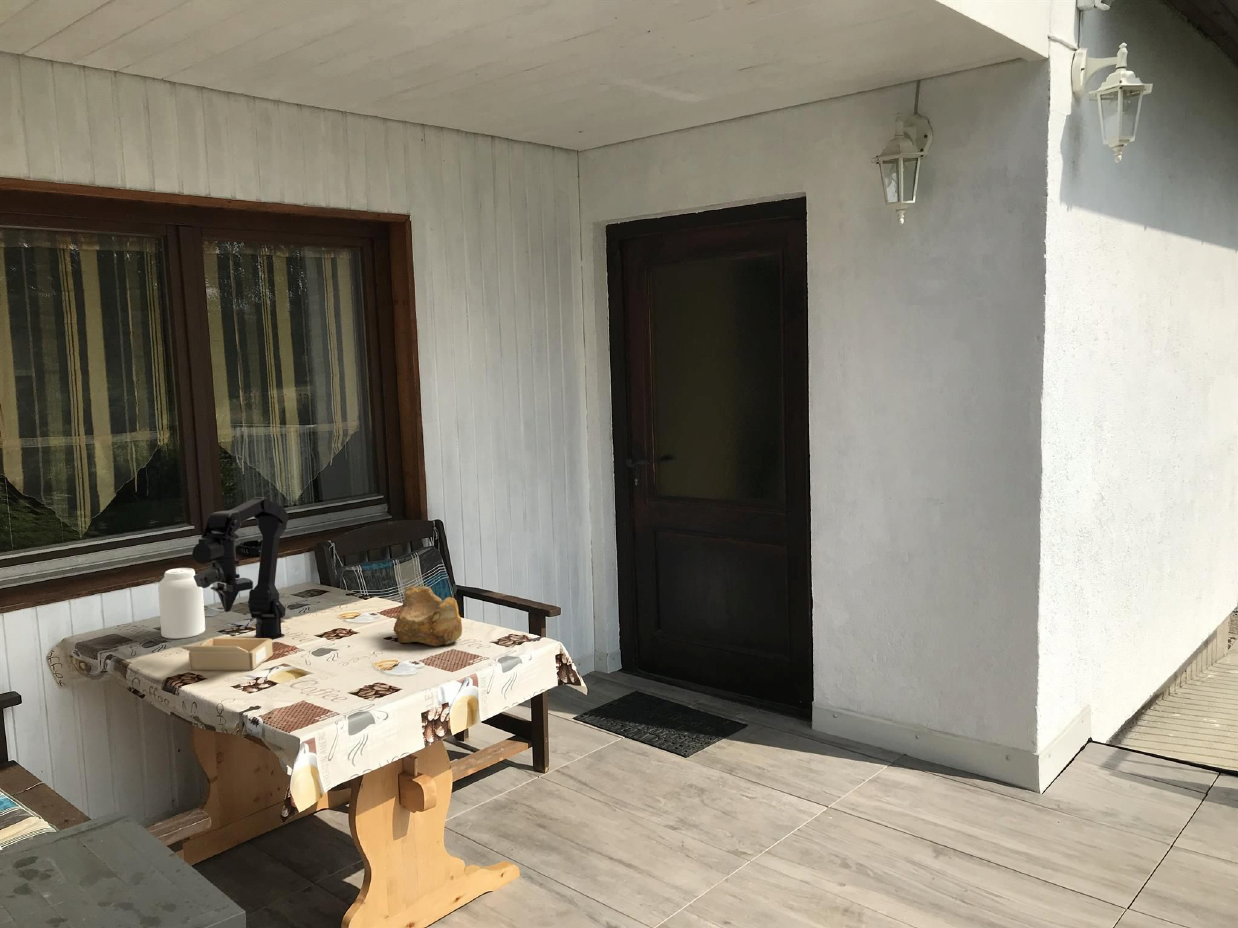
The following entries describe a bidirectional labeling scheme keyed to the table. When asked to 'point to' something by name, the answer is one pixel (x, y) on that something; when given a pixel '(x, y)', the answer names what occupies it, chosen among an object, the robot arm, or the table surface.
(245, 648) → the carton
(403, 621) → the rough brown rock
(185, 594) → the white jar
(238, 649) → the flap
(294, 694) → the table surface
